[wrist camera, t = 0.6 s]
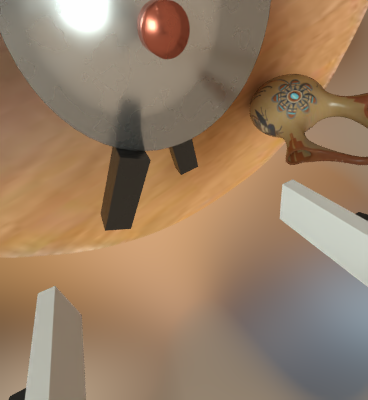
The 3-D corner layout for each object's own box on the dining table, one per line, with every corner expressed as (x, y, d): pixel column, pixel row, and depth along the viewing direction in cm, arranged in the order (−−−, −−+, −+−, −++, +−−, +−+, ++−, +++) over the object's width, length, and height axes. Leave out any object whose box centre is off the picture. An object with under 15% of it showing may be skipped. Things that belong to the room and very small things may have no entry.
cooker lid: (-63, -492, 8) (-101, -670, 6) (307, -77, 19) (340, -85, 17) (9, 217, 25) (6, 239, 23) (183, 210, 36) (192, 225, 34)
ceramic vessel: (295, 46, 43) (457, 87, 26) (297, 89, 49) (428, 143, 33) (222, 101, 43) (336, 174, 27) (235, 135, 50) (331, 211, 34)
